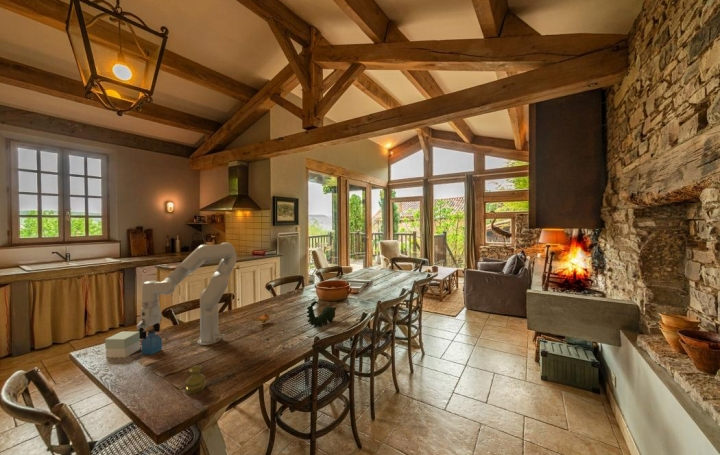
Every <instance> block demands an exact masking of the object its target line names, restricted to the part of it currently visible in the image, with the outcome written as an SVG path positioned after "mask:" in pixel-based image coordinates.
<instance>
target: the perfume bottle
mask: <svg viewBox="0 0 720 455" xmlns="http://www.w3.org/2000/svg"><path fill="white" fill-rule="evenodd" d="M156 333H157V332H155V329H153V328H150V329H148V330H147V335H146V339H142V341H141V355H150V356H152V355H153V354H157V353H158V352H159V351H162V349H163V348H162V346H163V345H162V344H163V343H162V341H163V340H162V337H161V336H160V335H159V334H156Z"/></svg>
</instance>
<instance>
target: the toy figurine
mask: <svg viewBox="0 0 720 455" xmlns="http://www.w3.org/2000/svg"><path fill="white" fill-rule="evenodd" d="M316 304H317V305H319V302H318V301H316V300H314V301H312V302H311V304H310V305H308V307H306V313H307V315H306V317H307V318H308V319H307V322H308V323H310V326H313V327H314V328H317V327H318V325H319V327H320V326H322V327H323V324H324V325H328V323H329V321H332V322H333V321H334V319H335V318H336V309H337V306H336V307H332V306H330V305H329V306H325V307H324V308H323V309H322V310H321V313H319V314H318V316H316V313H314V312H315V311H314V306H315V305H316Z"/></svg>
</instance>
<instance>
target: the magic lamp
mask: <svg viewBox="0 0 720 455" xmlns="http://www.w3.org/2000/svg"><path fill="white" fill-rule="evenodd" d="M268 309H269V310H268V313H266V312H264V313H263V315H262V316H259V317H251V319H253V320H256V321H258V322H261V323H265V322H268V321H269V320H270V315H271V314H272V313H273V308H272V305H270V306H269V308H268ZM270 311H271V312H270Z"/></svg>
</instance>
